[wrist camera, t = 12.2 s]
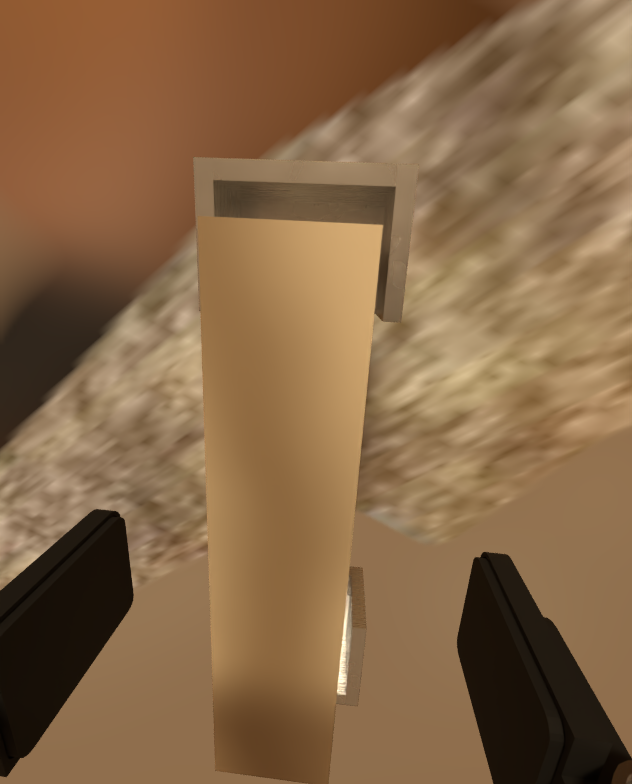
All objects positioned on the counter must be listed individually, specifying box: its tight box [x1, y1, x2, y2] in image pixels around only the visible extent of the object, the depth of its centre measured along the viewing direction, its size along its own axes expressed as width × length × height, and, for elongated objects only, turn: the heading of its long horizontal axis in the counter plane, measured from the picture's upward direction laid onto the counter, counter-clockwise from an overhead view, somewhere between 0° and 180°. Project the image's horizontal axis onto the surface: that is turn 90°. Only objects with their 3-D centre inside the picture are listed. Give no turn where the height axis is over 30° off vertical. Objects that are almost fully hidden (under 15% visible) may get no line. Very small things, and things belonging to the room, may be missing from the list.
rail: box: [198, 216, 383, 784], centre depth 14 cm, size 4×18×7 cm, turn 177°
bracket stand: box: [194, 157, 419, 706], centre depth 20 cm, size 7×22×11 cm, turn 177°
